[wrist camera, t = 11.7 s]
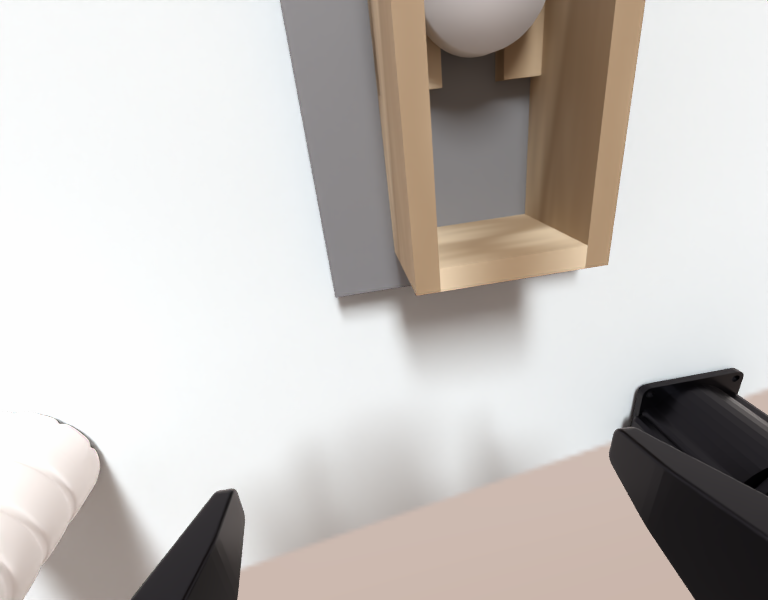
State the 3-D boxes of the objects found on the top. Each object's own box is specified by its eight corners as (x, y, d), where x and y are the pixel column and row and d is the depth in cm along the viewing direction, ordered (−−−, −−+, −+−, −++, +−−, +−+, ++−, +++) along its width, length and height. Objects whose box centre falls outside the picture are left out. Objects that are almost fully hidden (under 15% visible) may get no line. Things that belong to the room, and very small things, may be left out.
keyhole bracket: (568, -204, 12) (698, -375, 8) (541, 229, 17) (607, 264, 13) (347, -187, 11) (359, -359, 7) (394, 252, 17) (416, 295, 13)
